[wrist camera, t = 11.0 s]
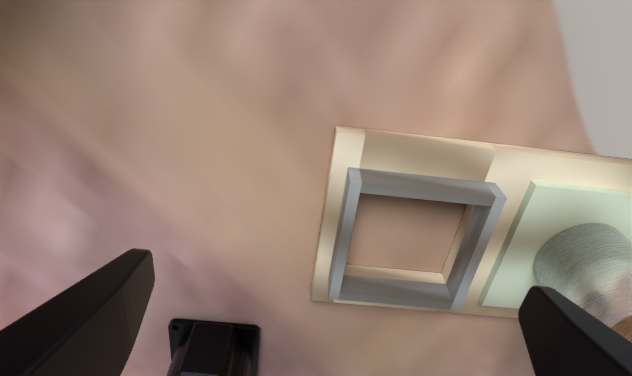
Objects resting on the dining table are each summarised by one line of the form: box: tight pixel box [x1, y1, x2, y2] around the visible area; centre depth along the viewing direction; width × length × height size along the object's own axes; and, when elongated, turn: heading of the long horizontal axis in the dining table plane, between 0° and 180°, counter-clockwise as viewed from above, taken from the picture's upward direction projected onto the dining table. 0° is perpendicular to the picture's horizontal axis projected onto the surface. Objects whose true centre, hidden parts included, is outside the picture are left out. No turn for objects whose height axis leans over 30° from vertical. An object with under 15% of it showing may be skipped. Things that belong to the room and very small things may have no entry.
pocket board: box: [311, 126, 632, 319], centre depth 23 cm, size 12×20×3 cm, turn 83°
